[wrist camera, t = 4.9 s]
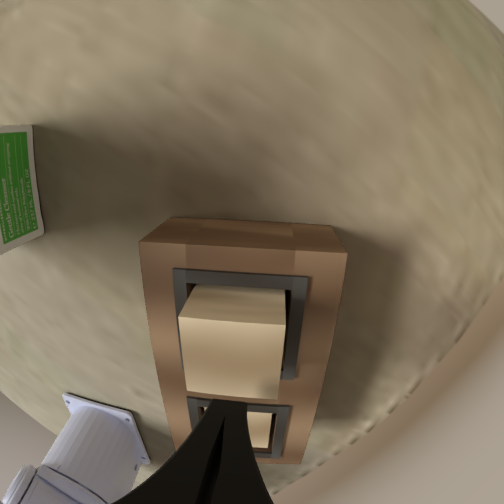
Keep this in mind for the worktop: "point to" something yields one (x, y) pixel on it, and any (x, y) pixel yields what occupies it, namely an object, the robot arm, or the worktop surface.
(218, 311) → the peg
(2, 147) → the skincare box
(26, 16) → the worktop surface
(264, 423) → the peg
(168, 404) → the walnut block
